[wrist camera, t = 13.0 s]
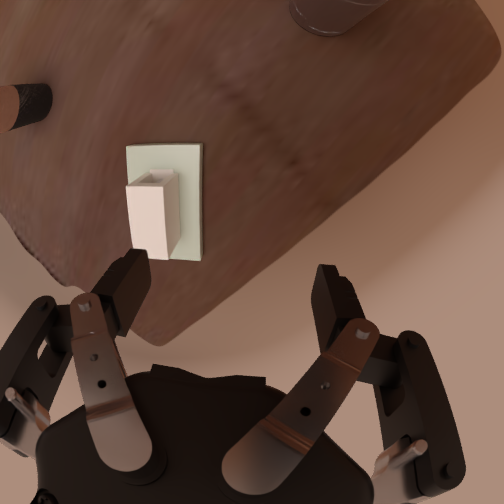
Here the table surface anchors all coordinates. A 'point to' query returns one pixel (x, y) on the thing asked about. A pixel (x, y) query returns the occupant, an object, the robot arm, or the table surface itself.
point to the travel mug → (23, 105)
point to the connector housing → (154, 215)
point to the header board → (190, 186)
